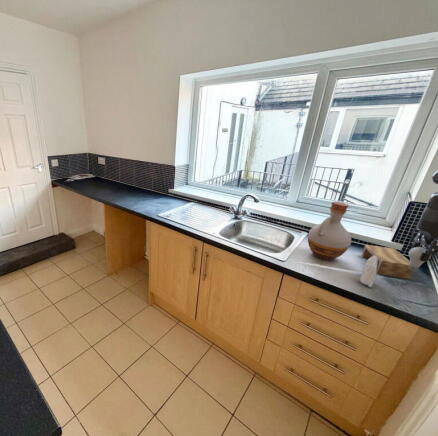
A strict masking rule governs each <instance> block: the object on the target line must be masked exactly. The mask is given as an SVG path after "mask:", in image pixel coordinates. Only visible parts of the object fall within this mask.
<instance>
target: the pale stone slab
mask: <svg viewBox="0 0 438 436" xmlns="http://www.w3.org/2000/svg"><path fill="white" fill-rule="evenodd" d="M378 263H379V261H378V259H377V257H375V256H372V257H371V258H367V260H366V262H365V263H364V265H363V267H362V268H361V272H362V274H361V276H360V279H359V280H360V282H361V283H362V284H363V285H367V286H368V287H369V288H372V287H373V283H374V282H375V279H376V277H377V273H376V270H377V267H378Z"/></svg>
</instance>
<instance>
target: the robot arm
mask: <svg viewBox="0 0 438 436" xmlns="http://www.w3.org/2000/svg"><path fill="white" fill-rule="evenodd" d="M431 180H432V182H433V183H434V184H436V185H438V169H437V170H435V171H434V173H433V174H432V177H431ZM409 242H410V243H411V247H410V250H411V249H412V248H415V247H422V248H423V253H422V255H421V257H420V260H421V261H424V263H427V262H429V260H430V259H431V257H430V256H432V255H438V191H437V192H436V191H435V192H433V193H431V195H430V196H429V198H428V201H427V204H426V205H425V208H424V209H423V211H422V213H421V216H420V218H419V220H418V223H417V225H416V228H415V227H414V228H413V229H412V232H411V235H410V238H409ZM429 258H430V259H429Z"/></svg>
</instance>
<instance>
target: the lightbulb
mask: <svg viewBox="0 0 438 436" xmlns="http://www.w3.org/2000/svg"><path fill="white" fill-rule="evenodd" d="M411 248H412V247H411ZM411 248H410V250H408V257H409V261H410V263H409V264H410V265H409V269H410V270H411V271H413V272H417V271H418V270H419V268H420V267H421V266H422V265H423V264H424V263H425V262H424V261H421V260H420V257H421V255H422V253H423V247H422V246H420V247H415V248H412V249H411ZM431 256H432V255H431ZM431 256H430V258H429V260H430V259H431V258H432V257H431Z"/></svg>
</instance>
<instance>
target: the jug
mask: <svg viewBox="0 0 438 436" xmlns="http://www.w3.org/2000/svg"><path fill="white" fill-rule="evenodd" d="M349 206H350V205H349V204H348V203H345V202H341V201H331V207H329V211H330V215H329V216H328V217H326V218H325V219H324V220H323V221H322V222H321V223H319V224H316V225H314V226H312V228H311V229H309V231H308V233H307V234H308V235H307V243H308V247H309V249H310V251H311V252H312V254H313V256H314V257H316V258H317V259H320V260H323V261H332V260H335V259H336V258H337V259H338V258H339V257H341V256H343V255H344V254H345V253H346V252H347V251H348V249H349V248H350V246H351V244H352V236H351V235H350V234H351V233H349V232H348V230H347V229H346V228H345V227H344V225H343V224H342V223H341V222H342V218H343V217H344V215H345V214H346V213H347V211H348V210H347V209H348V208H349Z"/></svg>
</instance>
